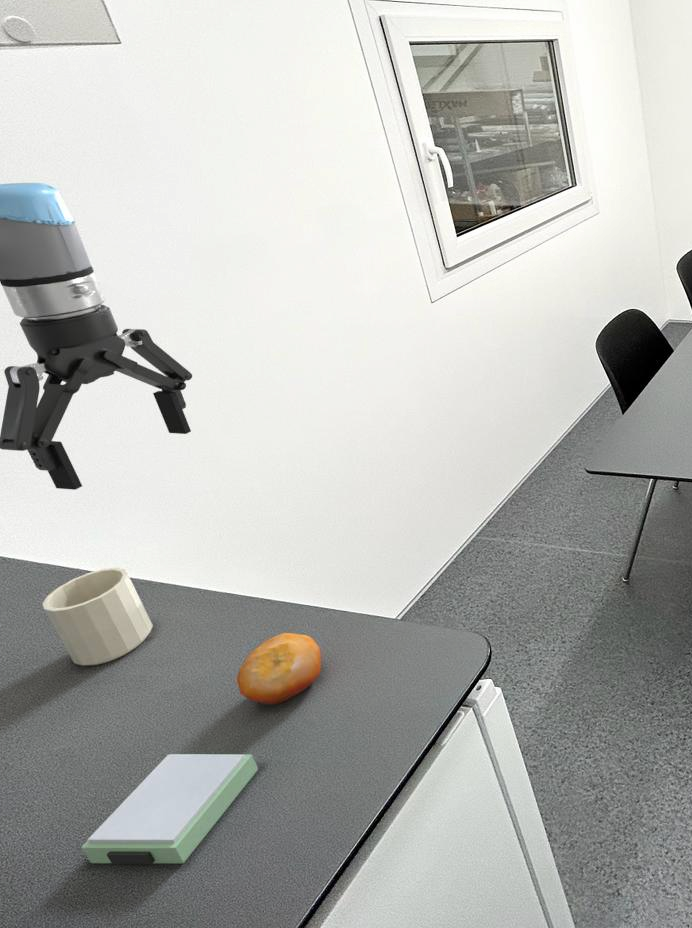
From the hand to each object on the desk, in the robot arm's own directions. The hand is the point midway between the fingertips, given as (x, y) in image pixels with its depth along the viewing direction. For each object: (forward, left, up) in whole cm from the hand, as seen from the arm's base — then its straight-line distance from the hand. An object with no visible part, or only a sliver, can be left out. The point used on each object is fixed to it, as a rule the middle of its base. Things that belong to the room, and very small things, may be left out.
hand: (129, 457), depth 85 cm
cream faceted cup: (-7, -5, -25) cm, 26 cm away
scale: (+6, -39, -25) cm, 47 cm away
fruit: (+14, -26, -25) cm, 39 cm away
